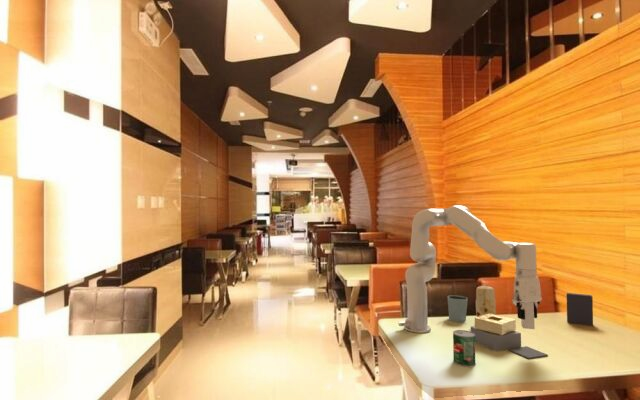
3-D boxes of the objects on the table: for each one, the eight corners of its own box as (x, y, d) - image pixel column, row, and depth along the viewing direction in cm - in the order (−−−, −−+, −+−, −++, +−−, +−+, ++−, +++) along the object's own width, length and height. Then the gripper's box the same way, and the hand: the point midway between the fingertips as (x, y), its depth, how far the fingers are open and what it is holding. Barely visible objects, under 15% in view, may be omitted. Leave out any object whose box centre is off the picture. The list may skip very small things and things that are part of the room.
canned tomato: (480, 363, 140) (479, 334, 141) (466, 368, 136) (466, 337, 137) (461, 357, 147) (461, 328, 148) (448, 361, 143) (448, 332, 143)
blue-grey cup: (443, 318, 202) (443, 296, 203) (458, 316, 206) (457, 294, 207) (457, 323, 193) (457, 299, 193) (472, 321, 197) (471, 298, 197)
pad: (528, 359, 145) (528, 357, 145) (508, 350, 155) (508, 348, 155) (547, 356, 148) (547, 354, 148) (526, 347, 158) (526, 346, 158)
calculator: (592, 324, 192) (591, 294, 193) (593, 326, 188) (592, 296, 189) (567, 320, 198) (566, 292, 199) (567, 322, 194) (566, 293, 195)
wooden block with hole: (501, 335, 154) (501, 324, 154) (474, 328, 164) (474, 317, 164) (517, 329, 163) (517, 318, 163) (490, 322, 172) (490, 312, 172)
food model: (491, 324, 192) (491, 284, 192) (499, 328, 185) (498, 287, 186) (473, 324, 191) (473, 285, 192) (479, 328, 184) (479, 287, 185)
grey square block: (494, 351, 154) (494, 336, 154) (470, 340, 167) (470, 326, 167) (521, 347, 158) (520, 333, 158) (496, 337, 171) (495, 323, 172)
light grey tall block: (523, 328, 150) (522, 300, 151) (521, 326, 154) (520, 298, 155) (534, 329, 149) (533, 301, 150) (532, 326, 153) (531, 299, 154)
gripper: (517, 275, 146) (518, 322, 146) (550, 273, 152) (551, 318, 151) (502, 273, 154) (503, 317, 153) (534, 271, 159) (535, 314, 158)
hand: (527, 317), depth 152 cm, fingers closed on light grey tall block, 5 cm apart
